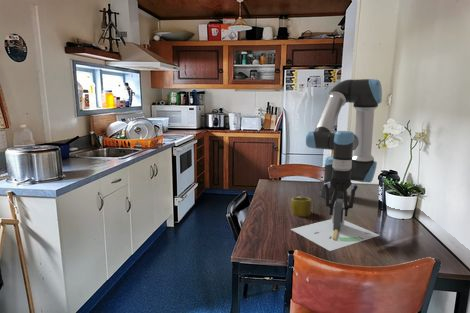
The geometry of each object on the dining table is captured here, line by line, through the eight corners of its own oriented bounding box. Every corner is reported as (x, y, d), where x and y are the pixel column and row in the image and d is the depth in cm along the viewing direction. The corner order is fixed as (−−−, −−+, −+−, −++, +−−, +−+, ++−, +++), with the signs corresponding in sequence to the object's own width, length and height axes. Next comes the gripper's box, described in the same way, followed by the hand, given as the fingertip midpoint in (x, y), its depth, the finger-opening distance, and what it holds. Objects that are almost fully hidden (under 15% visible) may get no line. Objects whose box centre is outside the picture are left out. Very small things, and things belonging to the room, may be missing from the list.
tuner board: (337, 219, 150) (337, 217, 149) (379, 237, 131) (380, 234, 131) (290, 231, 136) (290, 228, 135) (329, 253, 117) (329, 250, 117)
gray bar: (335, 222, 143) (337, 198, 141) (341, 223, 142) (343, 199, 140) (330, 238, 126) (332, 211, 124) (337, 239, 125) (339, 212, 123)
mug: (315, 216, 148) (309, 195, 148) (293, 221, 150) (287, 200, 151) (315, 212, 159) (310, 192, 160) (295, 217, 162) (290, 197, 163)
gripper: (321, 169, 131) (318, 224, 136) (364, 172, 128) (359, 228, 133) (320, 165, 139) (317, 218, 143) (361, 168, 135) (356, 221, 140)
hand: (337, 222), depth 138 cm, fingers closed on gray bar, 3 cm apart
